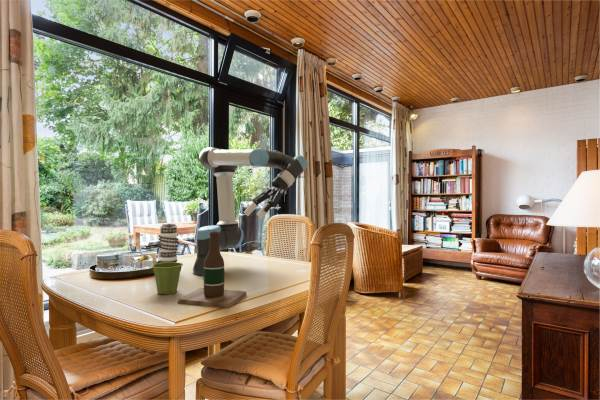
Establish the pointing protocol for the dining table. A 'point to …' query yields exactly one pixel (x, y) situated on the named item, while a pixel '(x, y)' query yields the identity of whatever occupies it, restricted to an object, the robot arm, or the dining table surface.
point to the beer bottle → (214, 269)
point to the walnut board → (222, 301)
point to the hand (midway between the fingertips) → (252, 215)
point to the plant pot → (167, 276)
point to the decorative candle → (168, 243)
